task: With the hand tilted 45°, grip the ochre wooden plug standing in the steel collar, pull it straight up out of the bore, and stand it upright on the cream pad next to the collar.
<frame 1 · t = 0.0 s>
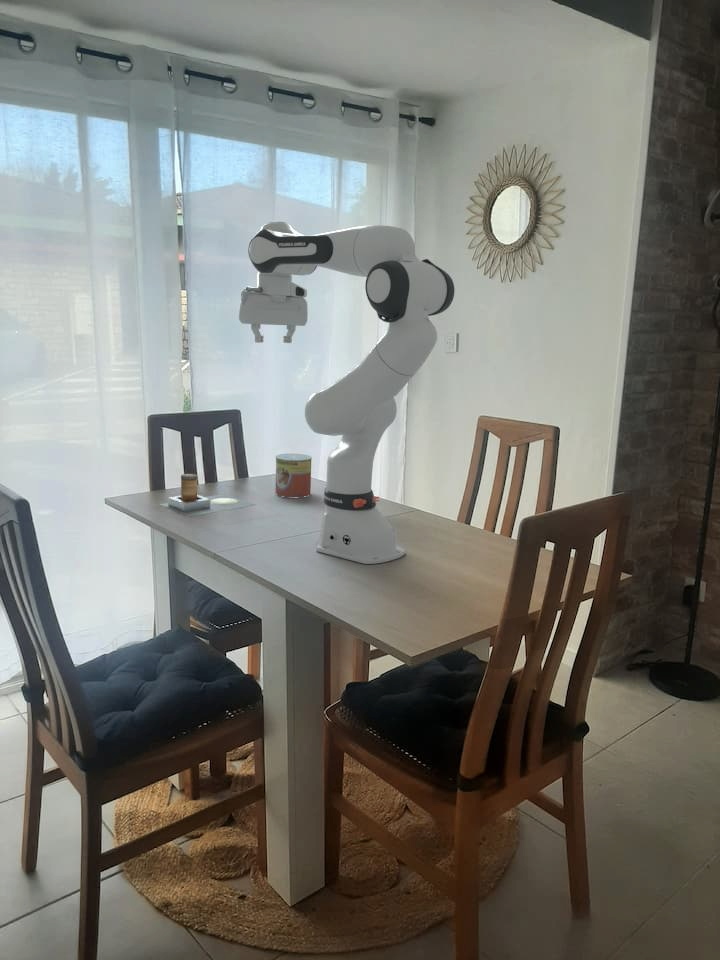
hand: (273, 342, 191), 48 cm above the table, tool pointing down, fingers open, 8 cm apart
collar: (189, 502, 204), on the base plate, point 2 cm above the table
pepper mill: (344, 509, 215), on the table
base plate: (207, 508, 208), on the table
canned food: (292, 494, 230), on the table
plug: (189, 491, 204), in the collar, point 6 cm above the table, touching base plate
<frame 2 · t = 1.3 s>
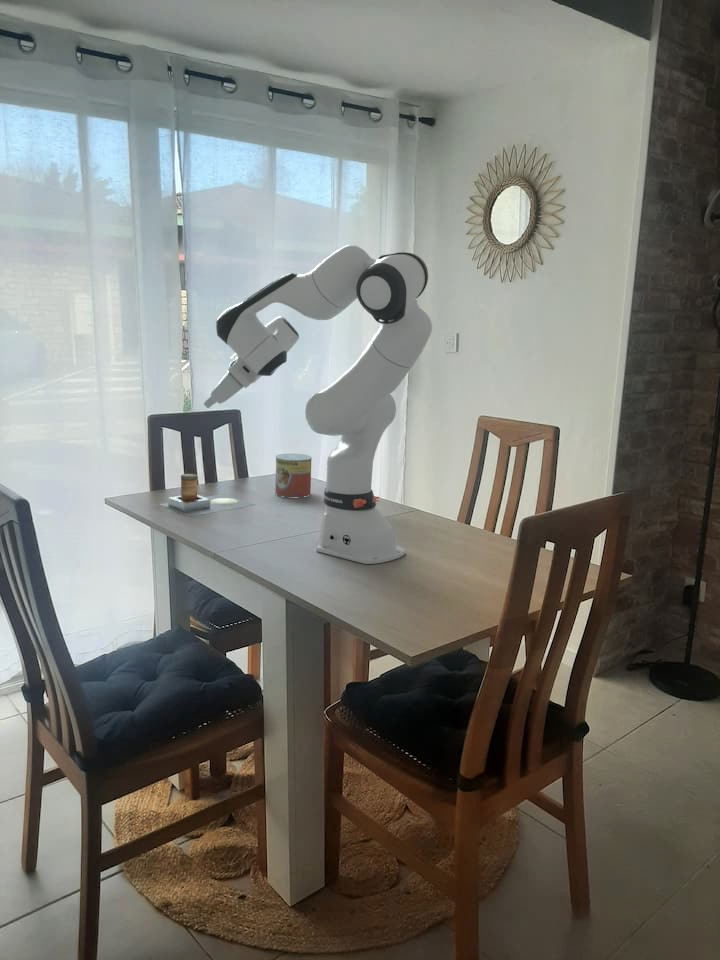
hand: (210, 399, 191), 33 cm above the table, tool tilted 45°, fingers open, 8 cm apart
nothing on the table moved.
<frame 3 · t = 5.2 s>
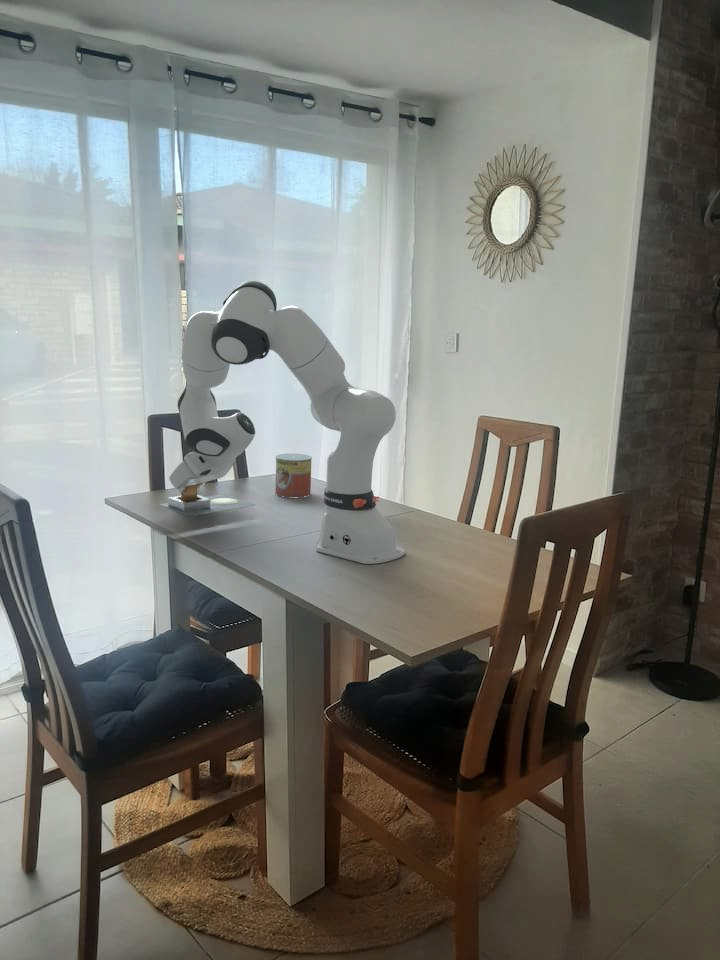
hand: (187, 488, 204), 6 cm above the table, tool tilted 45°, fingers closed on plug, 4 cm apart
plug: (189, 491, 204), in the collar, point 6 cm above the table, touching base plate, gripper
everything else where it was.
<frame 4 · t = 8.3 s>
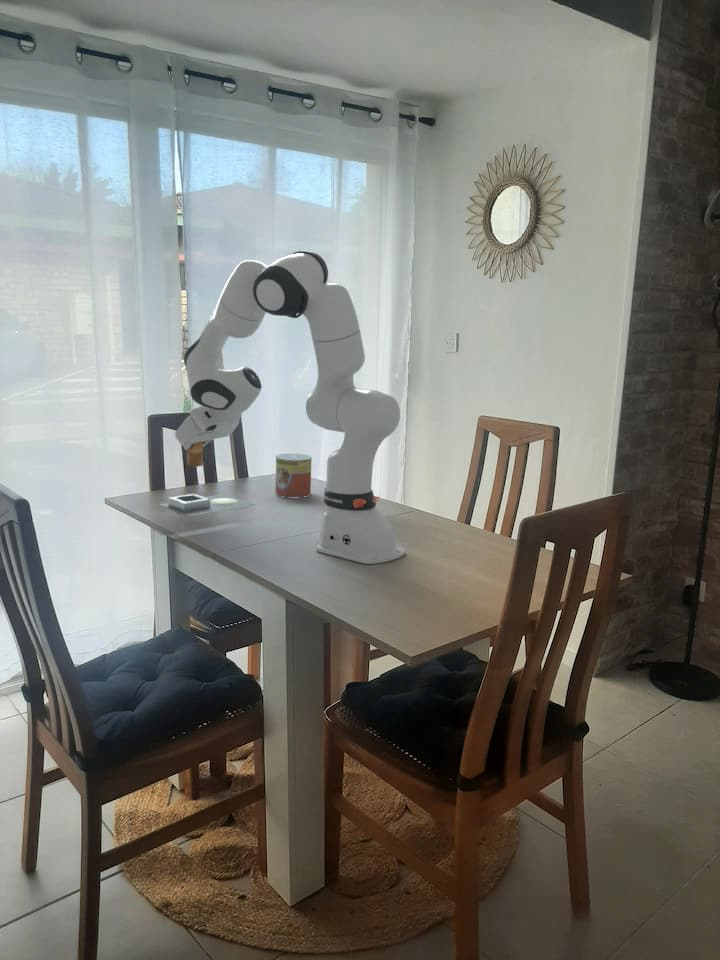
hand: (193, 446, 202), 18 cm above the table, tool tilted 45°, fingers closed on plug, 4 cm apart
plug: (194, 449, 202), point 18 cm above the table, touching gripper
everything else where it was.
when the fingers open (8 cm above the table, at t = 11.3 s): plug drops 1 cm, resting on base plate.
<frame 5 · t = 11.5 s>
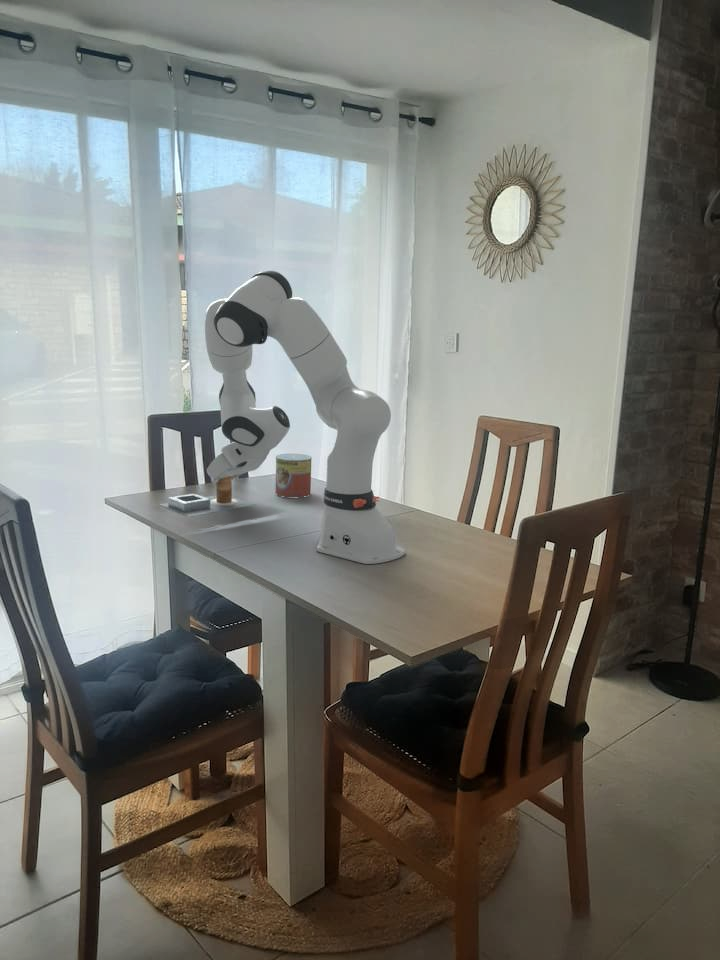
hand: (222, 480, 211), 8 cm above the table, tool tilted 45°, fingers open, 6 cm apart
plug: (224, 486, 210), on the base plate, point 6 cm above the table
everything else where it was.
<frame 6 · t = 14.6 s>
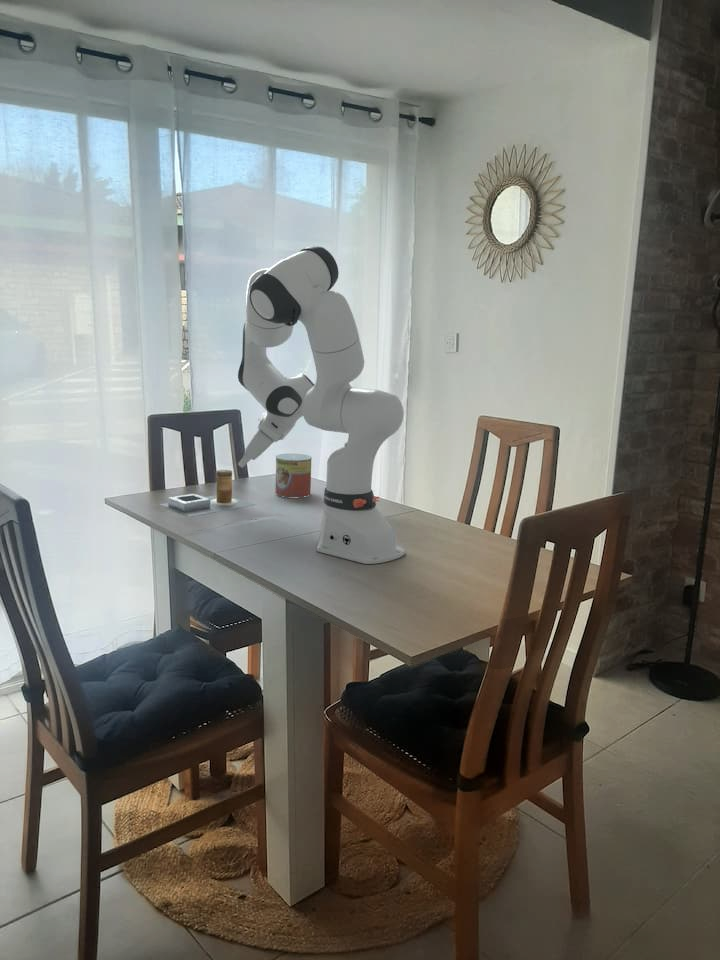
hand: (242, 462, 202), 15 cm above the table, tool tilted 40°, fingers open, 8 cm apart
nothing on the table moved.
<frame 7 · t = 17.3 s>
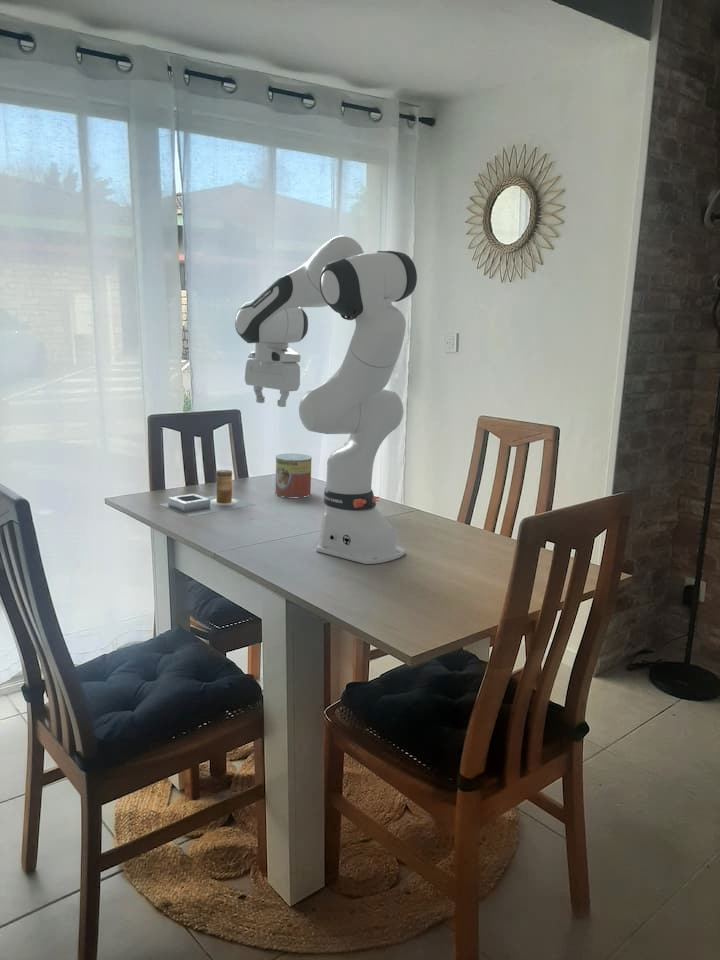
hand: (270, 404, 198), 31 cm above the table, tool pointing down, fingers open, 8 cm apart
nothing on the table moved.
at the end: plug 0.0 cm from the target spot on the base plate, point 5.8 cm above the base plate's base; plug tilted 0°; the gripper is holding nothing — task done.
